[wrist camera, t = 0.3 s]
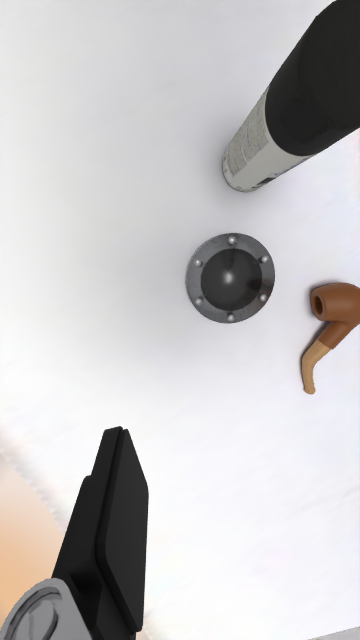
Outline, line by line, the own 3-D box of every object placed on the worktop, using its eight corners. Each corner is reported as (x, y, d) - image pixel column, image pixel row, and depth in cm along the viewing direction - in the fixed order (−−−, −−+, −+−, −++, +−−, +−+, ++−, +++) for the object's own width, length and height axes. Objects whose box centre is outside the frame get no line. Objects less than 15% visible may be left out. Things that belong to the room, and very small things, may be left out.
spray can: (245, 204, 35) (347, 156, 16) (209, 167, 34) (275, 65, 15) (280, 163, 34) (433, 59, 15) (244, 123, 33) (366, -50, 13)
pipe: (294, 390, 45) (314, 412, 39) (306, 281, 39) (331, 287, 34) (335, 387, 45) (361, 408, 39) (352, 279, 40) (385, 284, 34)
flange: (184, 235, 36) (184, 235, 34) (274, 231, 37) (278, 230, 35) (187, 324, 40) (188, 326, 38) (269, 318, 40) (273, 321, 39)
